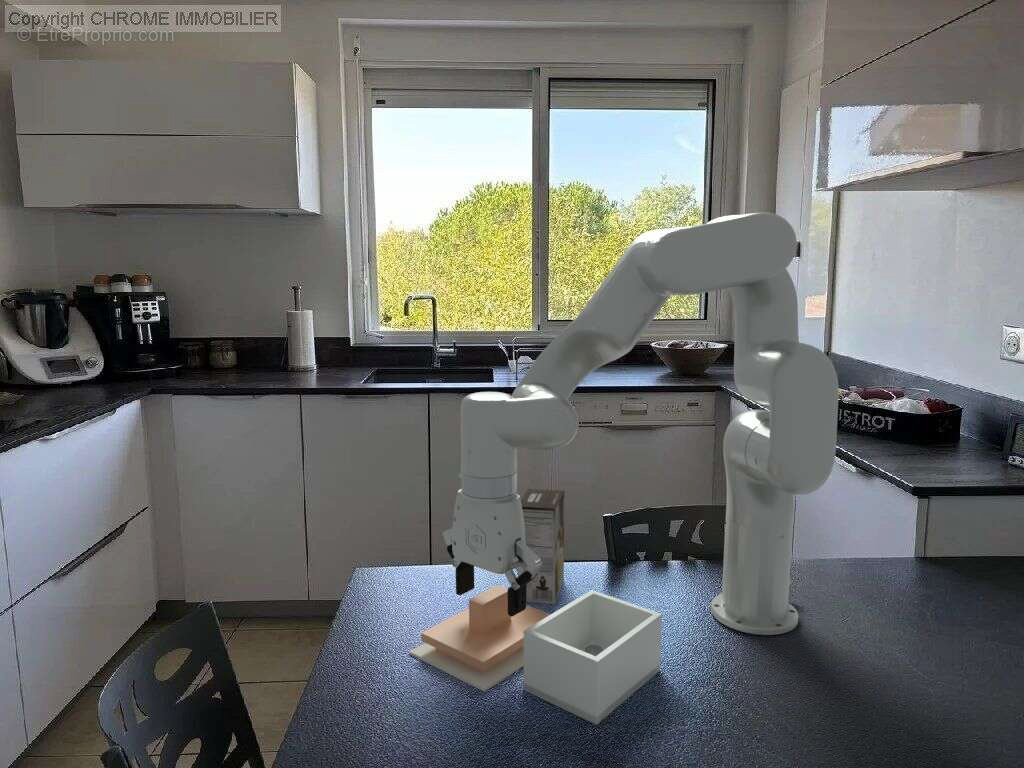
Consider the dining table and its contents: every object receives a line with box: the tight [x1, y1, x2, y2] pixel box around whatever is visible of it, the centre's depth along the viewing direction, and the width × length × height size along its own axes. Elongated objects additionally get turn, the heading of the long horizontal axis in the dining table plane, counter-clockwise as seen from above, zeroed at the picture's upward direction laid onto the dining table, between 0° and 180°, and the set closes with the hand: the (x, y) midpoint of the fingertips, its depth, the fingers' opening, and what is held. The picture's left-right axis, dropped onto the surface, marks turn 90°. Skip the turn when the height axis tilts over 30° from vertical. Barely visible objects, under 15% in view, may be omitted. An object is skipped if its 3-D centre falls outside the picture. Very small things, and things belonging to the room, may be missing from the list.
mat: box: [408, 642, 524, 693], centre depth 103 cm, size 18×14×1 cm
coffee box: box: [517, 488, 565, 605], centre depth 119 cm, size 9×6×16 cm
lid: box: [420, 584, 552, 673], centre depth 103 cm, size 16×12×7 cm
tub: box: [523, 589, 663, 726], centre depth 94 cm, size 15×11×8 cm
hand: (490, 601), depth 102 cm, fingers open, 9 cm apart
